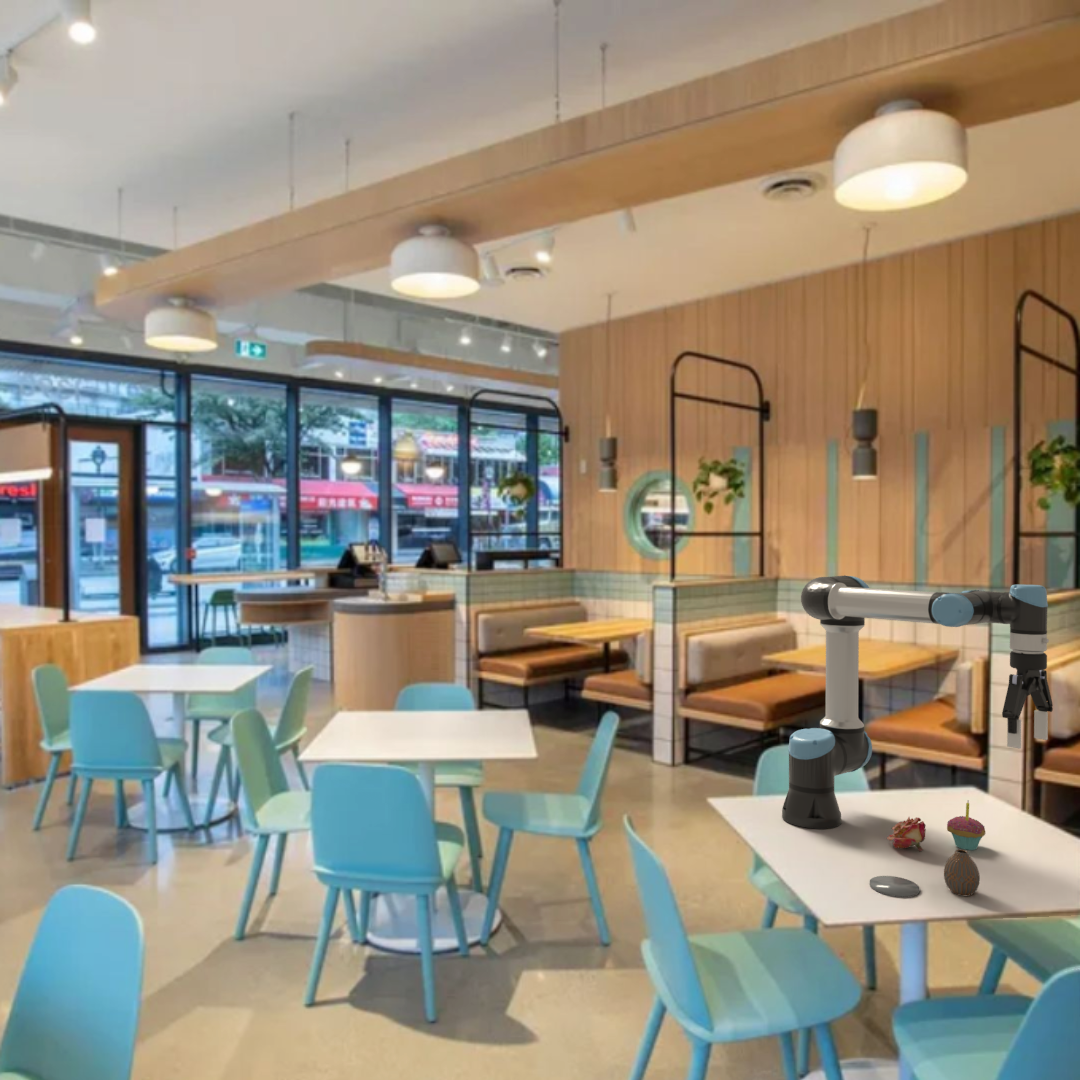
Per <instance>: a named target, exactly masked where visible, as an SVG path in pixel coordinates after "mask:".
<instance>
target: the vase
mask: <svg viewBox="0 0 1080 1080" xmlns="http://www.w3.org/2000/svg"><path fill="white" fill-rule="evenodd" d="M943 879H944V882H945V885H946V887H947V888H948V889H949V890H950V891H951V893H953V894H955V895H958V896H964V897H968V896H971V895H973V894H975V893H976V892H977V890H978V888H979V886H980V871H979V867H978V866H977V864H976V863H975V862H974V860H973V859H972V858H971V856H970V854H969V851H968V850H965V849H961V848H959V849H955V851H954V853H953V854H952V855H951V856H950V857H949V858H948V859H947V860H946V863H945V865H944V869H943Z"/></svg>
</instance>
